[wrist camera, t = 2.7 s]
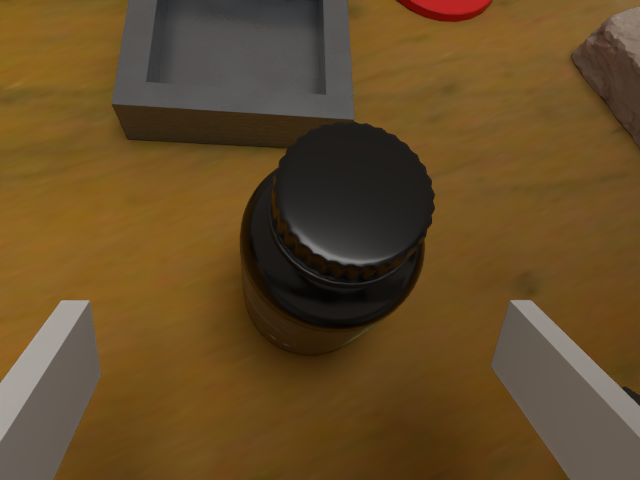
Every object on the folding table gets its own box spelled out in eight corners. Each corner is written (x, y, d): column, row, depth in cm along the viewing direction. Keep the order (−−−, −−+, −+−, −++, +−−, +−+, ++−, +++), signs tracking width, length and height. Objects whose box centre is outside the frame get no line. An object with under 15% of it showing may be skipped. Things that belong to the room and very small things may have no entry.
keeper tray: (336, -4, 32) (344, -46, 29) (343, 150, 27) (354, 119, 24) (151, -22, 30) (140, -70, 27) (127, 139, 26) (111, 104, 23)
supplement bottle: (380, 349, 24) (495, 296, 12) (248, 363, 22) (243, 318, 11) (361, 228, 26) (443, 91, 15) (240, 235, 25) (229, 92, 14)
